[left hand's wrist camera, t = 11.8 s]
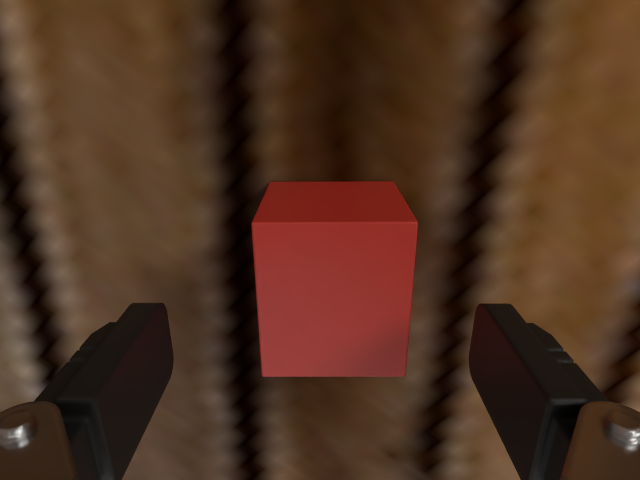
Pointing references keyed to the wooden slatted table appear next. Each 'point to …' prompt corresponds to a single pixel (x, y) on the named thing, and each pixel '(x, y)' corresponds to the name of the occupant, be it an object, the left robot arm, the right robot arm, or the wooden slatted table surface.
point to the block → (334, 278)
